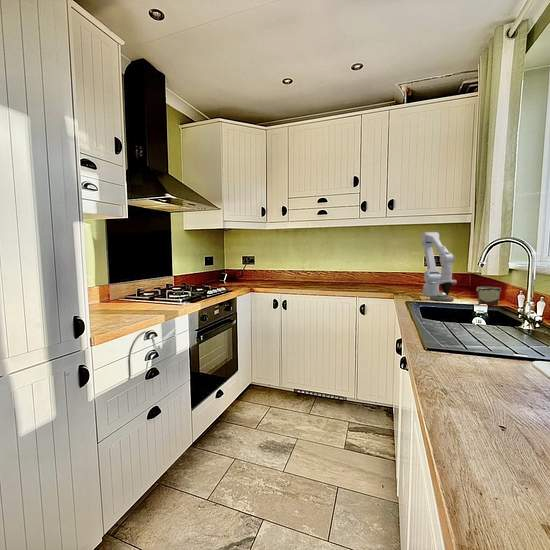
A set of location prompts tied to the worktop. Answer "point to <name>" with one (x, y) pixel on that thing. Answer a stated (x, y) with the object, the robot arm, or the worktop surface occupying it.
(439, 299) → the turntable
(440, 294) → the cover
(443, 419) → the worktop surface
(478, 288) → the food container
